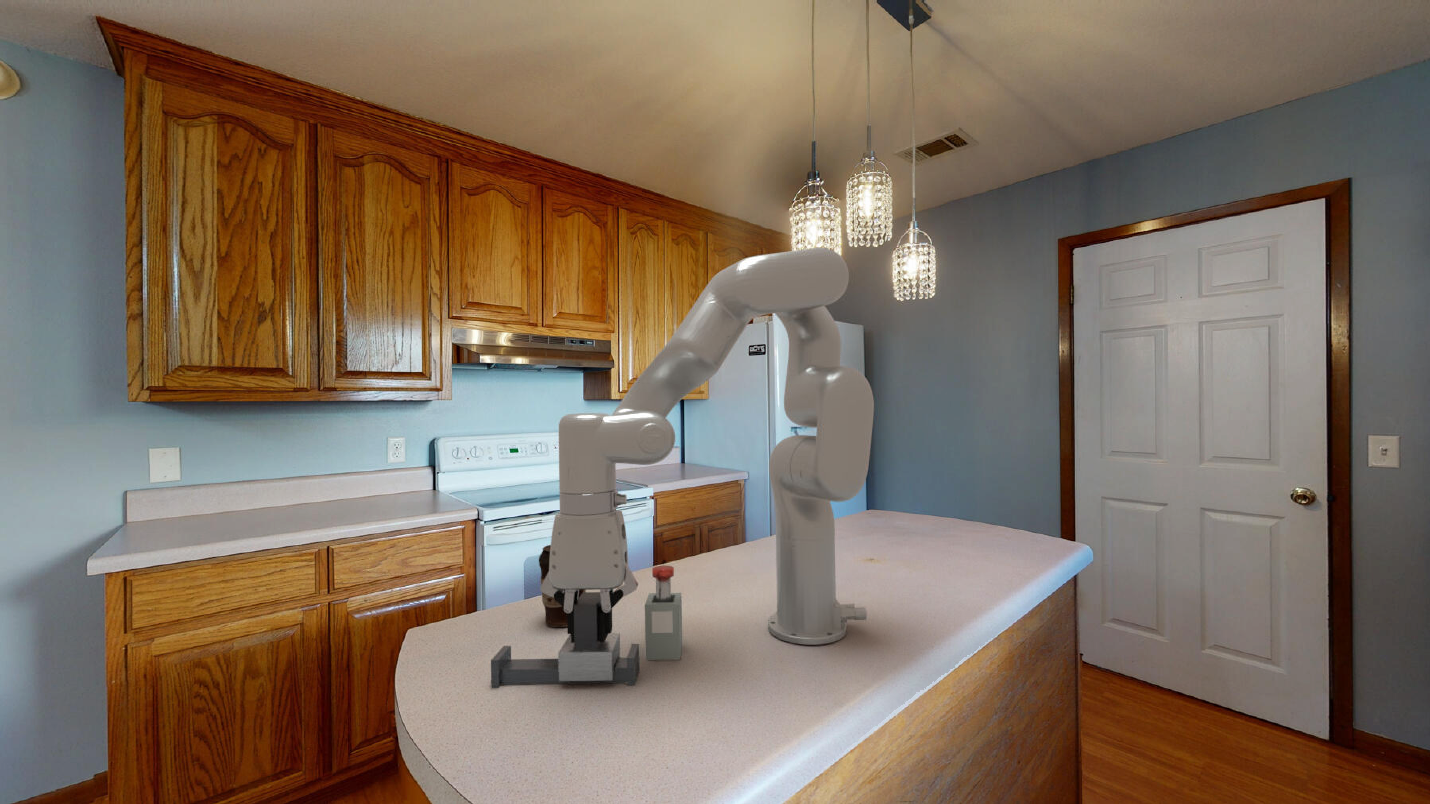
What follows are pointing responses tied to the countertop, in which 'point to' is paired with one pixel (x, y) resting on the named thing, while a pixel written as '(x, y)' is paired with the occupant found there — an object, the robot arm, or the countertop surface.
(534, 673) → the rail
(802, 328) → the robot arm
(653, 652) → the grey square housing
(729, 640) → the countertop surface
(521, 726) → the countertop surface
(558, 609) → the coffee cup
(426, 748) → the countertop surface
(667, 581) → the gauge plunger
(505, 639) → the countertop surface
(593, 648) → the carriage
